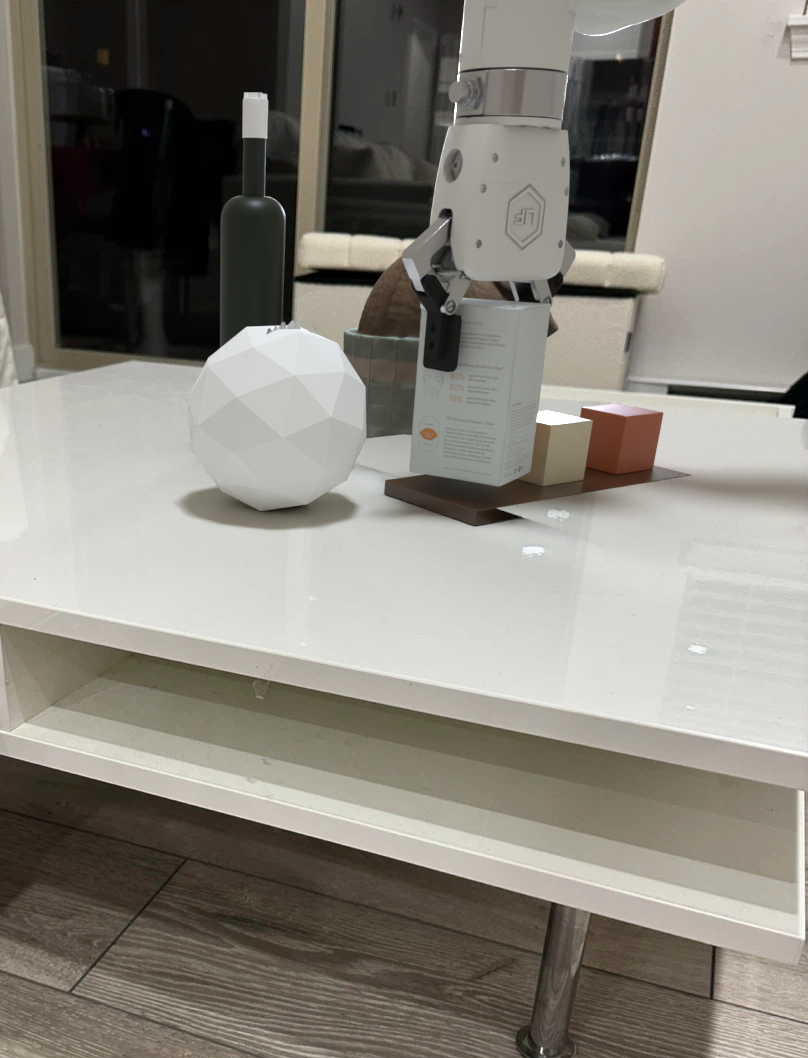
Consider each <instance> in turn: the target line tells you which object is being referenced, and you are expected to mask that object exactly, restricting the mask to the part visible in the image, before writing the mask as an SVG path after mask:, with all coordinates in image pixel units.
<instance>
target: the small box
mask: <svg viewBox="0 0 808 1058" xmlns="http://www.w3.org/2000/svg"><path fill="white" fill-rule="evenodd" d="M550 307H551V308H552V306H551V304H547V303H532V302H516V301H502V300H486V299H472V298H462V300H461V302H460V304H459V306H458V308H457V309H456V311H455V313H454V314H456V315H462V316H461V319H462V324H461V334H460V344H459V354H458V364H457V369H456V370H455V371H454V372H444V371H439V370H434V369H429V368H425V367H424V366H423V355H424V343H425V331H426V320H427V312H424V311H422V310H421V323H420V337H419V350H418V362H417V375H416V389H415V400H414V414H413V426H412V435H411V439H410V440H411V441H410V442H411V443H410V455H409V468H408V469H409V472H410V473H412V474H419V475H425V474H426V475H432V476H439V477H445V478H451V479H457V480H463V481H469V482H475V483H481V484H487V485H492V486H497V487H499V486H502V485H504V484H506V483H509V482H511V481H513V480H515V479H518V478H520V477H522V476H523V475H526V474H527V473H529V472H530V471H531V464H532V455H533V448H534V439H535V432H536V424H537V416H538V412H539V408H540V399H541V391H542V381H543V374H544V366H545V358H546V348H547V339H548V337H547V333H548V325H549V316H550V312H551V308H550Z"/></svg>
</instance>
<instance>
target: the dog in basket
mask: <svg viewBox="0 0 808 1058" xmlns="http://www.w3.org/2000/svg"><path fill="white" fill-rule="evenodd" d="M432 273H433V272H432ZM433 275H434V273H433ZM450 284H451V283H448V286H447V287H446V289H445V291H446V292H447V290H448V288H449V286H450ZM463 298H472V299H486V300H502V301H515V298H514V295H513V292H512V289H511V286H510V282H509V281H477V280H473V279H472V281H471V283H470V285H469V287H468V289H467V291H466V293H465V294H464V296H463ZM420 323H421V308H420V300H419V298H418V297H417V295H416V294H415V292H414V290H413V289H412V287H411V279H410V278H409V275H408V273H407V271H406V268H405V266H404V263H403V261H402V255H400V256H399V257H398V258H396V259H395V261H394V262H393V263H391V264H390V265H389V266H388V267H387V268H386V269H385V270H384V271H382V274H381V275H380V276H379V278H378V279H377V281H376V282H375V284H373V287H372V289H371V291H370V292H369V294H368V296H367V298H366V301H365V303H364V306H363V310H362V311H361V314H360V319H359V321H358V327H352V328H348V329H346V330H345V331H344V332H343V344H342V345H343V350H342V351H343V352H344V354H345V356H346V357H347V359H348V360H349V362H350V363H351V365H352V366H353V368H354V370H355V371H356V373H357V374H358V376H359V377H360V379H361V381H362V382H363V384H364V385H365V387H366V439H375V438H383V437H384V438H385V437H392V436H402V435H407V436H412V426H413V414H414V400H415V389H416V375H417V362H418V350H419V337H420ZM558 330H559V325H558V323H557V321H556V319H554V317H553V315H552V312H551V311H550V316H549V325H548V333H547V338H550V337H551V336H552V335H554V334H555V333H556V332H558Z"/></svg>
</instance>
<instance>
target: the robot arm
mask: <svg viewBox="0 0 808 1058" xmlns="http://www.w3.org/2000/svg"><path fill="white" fill-rule="evenodd" d="M686 1H687V0H464V4H463V13H462V14H463V15H462V25H461V35H460V36H461V37H460V48H459V59H458V70H457V71H458V72H457V73H458V75H457V80H454V81H453V82H452V83H451V84H450V86H449V88H448V99H449V101H450V102H451V104H455V105H454V115H453V118H454V119H453V125H449V126H448V128H447V132H446V135H445V139H444V143H443V147H442V151H441V155H440V158H439V164H438V169H437V174H436V180H435V186H434V191H433V197H432V206H431V212H430V219H429V226H428V227H427V228H426V229H425V230H424V231H423V232H422V233H421V234H420V235H419V236H418V237H416V239H414V241H412V242H411V243H410V244H409V245H407V246H406V247H405V248H404V250H403V251H402V253H401V256H402V261H403V263H404V266H405V268H406V271H407V273H408V275H409V278H410V279H411V287H412V289H413V290H414V292H415V294H416V295H417V297H418V298H419V300H420V308H421V310H422V311H424V312H427V320H426V331H425V343H424V355H423V366H424V367H425V368H429V369H434V370H439V371H444V372H454V371H455V370H456V369H457V364H458V354H459V344H460V334H461V324H462V319H461V316H462V315H456V314H454V313H455V311H456V309H457V308H458V306H459V304H460V302H461V300H462V298H463V296H464V294H465V293H466V291H467V289H468V287H469V285H470V283H471V281H472V279H473V280H477V281H509V282H510V286H511V289H512V292H513V295H514V298H515V301H516V302H532V303H547V304H551V307H550V309H551V308H552V306H553V304H554V303H553V302H554V301H553V298H554V297H555V296H556V294H557V293H558V292H559V290H560V289H561V288H562V286H563V284H564V277H566V275H567V274H568V272H569V271H570V268H571V267H572V266H573V263H574V262H575V260H576V256H577V253H576V250H575V249H574V247H573V246H572V245H571V244H570V242H569V241H568V240H567V238H566V236H567V227H568V216H569V201H570V200H569V199H570V181H571V180H570V177H571V176H570V171H571V169H570V168H571V167H570V165H571V164H570V160H571V159H570V143H569V142H570V141H569V131H568V130H567V129H562V123H563V117H564V108H565V101H566V94H567V86H568V85H567V84H568V77H569V69H570V62H571V55H572V54H571V53H572V46H573V39H574V32H576V33H579V34H582V35H584V36H591V37H598V36H605V35H609V34H613V33H615V32H618V31H621V30H623V29H626V28H628V27H631V26H634V25H639V24H642V23H644V22H648V21H650V20H653V19H657V18H659V17H661V16H663V15H666V14H668V13H669V12H671V11H673V10H675V9H676V8H678V7H679V6H681V5H682V4H684V3H685V2H686ZM432 272H433V273H434V275H433V273H432ZM448 283H451V284H450V286H449V288H448V290H447V292H446V291H445V289H446V287H447V286H448Z"/></svg>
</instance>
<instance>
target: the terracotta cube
mask: <svg viewBox="0 0 808 1058" xmlns="http://www.w3.org/2000/svg"><path fill="white" fill-rule="evenodd" d="M663 417H664V412H663V411H660V410H659V411H658V410H654V409H648V408H644V407H638V406H634V405H629V404H625V403H610V404H600V405H591V406H590V405H589V406H582V407H581V408H580V415H579V418H584V419H589V420H592V421H593V423H592V429H591V436H590V442H589V448H588V454H587V460H586V467H588V468H592V469H596V470H599V471H603V472H607V473H611V474H615V475H619V474H625V473H631V472H637V471H644V470H650V469H653V466H655V460H656V456H657V449H658V444H659V439H660V435H661V434H660V433H661V429H662V423H663V419H664V418H663Z"/></svg>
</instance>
